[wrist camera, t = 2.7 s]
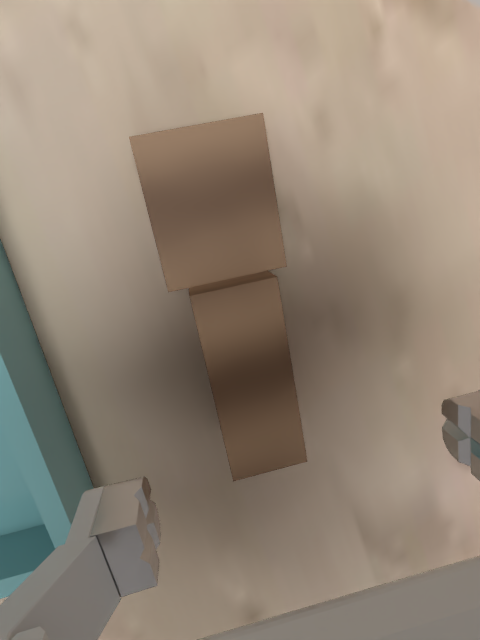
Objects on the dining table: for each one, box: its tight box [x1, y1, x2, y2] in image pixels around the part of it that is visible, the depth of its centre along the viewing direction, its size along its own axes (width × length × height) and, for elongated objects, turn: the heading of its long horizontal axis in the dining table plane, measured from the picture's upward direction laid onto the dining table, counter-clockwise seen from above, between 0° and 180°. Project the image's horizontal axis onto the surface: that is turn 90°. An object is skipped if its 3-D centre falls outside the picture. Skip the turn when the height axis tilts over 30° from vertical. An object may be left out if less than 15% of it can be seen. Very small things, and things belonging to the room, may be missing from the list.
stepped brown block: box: [129, 113, 307, 481], centre depth 20 cm, size 17×6×5 cm, turn 11°
